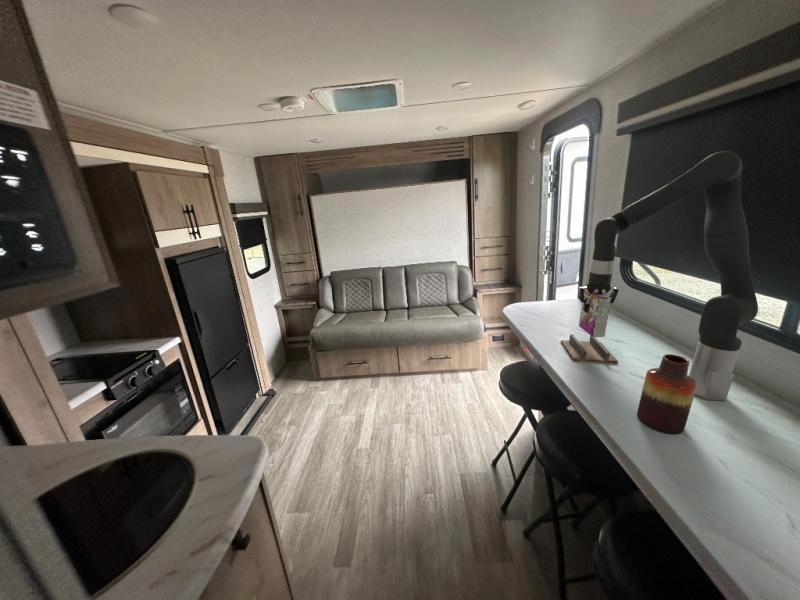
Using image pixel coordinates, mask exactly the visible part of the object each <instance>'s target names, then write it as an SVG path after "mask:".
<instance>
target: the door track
mask: <svg viewBox="0 0 800 600" xmlns="http://www.w3.org/2000/svg"><path fill="white" fill-rule="evenodd" d="M589 335H590V334H589ZM560 343H562V344H561V345H562V346H564V347H563V348H564V349H566V350H565V351H566V353H567V352H568V353H567V354H568V356H569V355H570V356H569V358H570V359H571V360H572V361H573V362H582V361H585V362H586V363H600V364H601V363H603V364H614V365H615V364H618V363H619V360H618V359H617V358H616V357H615V356H614V355H613V354H612V352H610V351H609V349H608V348H607V347H606V346H605V345H604V344H603V343H602V342H601V341H599V340H598V339H597V337H592V336H591V335H590V336H589V341H588V340H587V341H586V340H585V341H584V340H578V339H577V338H576V336H575V334H571V333H570V334H569V340H567V339H561V340H560ZM585 362H584V363H585Z"/></svg>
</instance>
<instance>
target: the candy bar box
mask: <svg viewBox="0 0 800 600" xmlns="http://www.w3.org/2000/svg"><path fill="white" fill-rule="evenodd" d="M587 294H588V291H587V290H586V291H585V292H584V299H585V298H586V295H587ZM606 295H607V294H606ZM606 295H601V294H595V295H593V298H592V300H591V301H590V303H589V309H588V313H585V312H584V310H583V306H584V303H583V302H581V309H580V315H579V316H580V317H579V320H578V321H579V323H578V327H580V328H581V329H582V330H583V331H585V332H586V333H587V334H588V335H591V336H592V337H595V338H604V337H605V335H606V330H607V325H608V323H607V322H608V319H609V313H610V307H611V303H610V302H611V298H610V297H609V296H608V295H607V296H606ZM589 296H590V294H589Z"/></svg>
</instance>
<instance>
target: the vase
mask: <svg viewBox="0 0 800 600" xmlns="http://www.w3.org/2000/svg"><path fill="white" fill-rule="evenodd" d="M689 365H690V361H689V359H687V358H685V357H683V356H681V355H677V354H671V353H670V354H667V353H666V354H664V355H663V356H662V359H661V361H660V364H659V366H658V367H652V368H649V369H648V370H647V371H646V374H645V378H644V382H643V385H642V386H643V387H642V391H641V395H640V400H639V403H638V407H637V412H636V416H637V418H638V420H639V421H640V422H641V423H642V424H643V425H644V426H646V427H647V428H649V429H651V430H653V431H656V432H659V433H663V434H665V435H666V434H667V435H680V434H682V433H683V432H684V431H685V428H686V425H687V422H688V419H689V414H690V412H691V408H692V405H693V401H694V399H695V398H694V397H695V396H696V395H695V391H696V388H697V384H696V382H695V381H694V379H692V378H691V377H689V374H688V371H689V367H690V366H689Z"/></svg>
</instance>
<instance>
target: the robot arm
mask: <svg viewBox="0 0 800 600" xmlns="http://www.w3.org/2000/svg"><path fill="white" fill-rule="evenodd" d="M742 171H743V163H742V160H741V158H740V156H739V155H738V154H737V153H735V152H733V151H729V150H727V151H726V150H722V151H717V152H714V153H713V154H710V155H707V157H705V158H704V159H703V160H701V161H700V162H698V163H697V164H696V165H694V166H693V167H692V168H690V169H689V170H687V171H686V172H685V173H683V174H682V175H680V176H678V177H677V178H675V179H674V180H671V182H669V183H667V184H665V185H664V186H662V187H661V188H659V189H657V190H655V191H653V192H651V193H650V194H648V195H646V196H644V197H642V198H640V199H639V200H636V201H635V202H633V203H631V204H629V205H628V206H626V207H624V208H623V209H622V210H621V211H619V212H617V213H615V214H613V215H611V216H609V217H607V218H603V219H601V220H599V221H598V223H597V224H596V225H595V229H594V238H593V239H594V247H593V248H594V249H593V253H592V260H591V264H590V267H589V273H588V280H587V284H586V286H578V299H579V301H580V302H581V303H582V302H583V303H584V306H583V310H584V312H585V313H588V309H589V303H590V301H591V300H592V298H593V295H595V294H601V295H606V296H608V295H607V294H608V293H609V292H610V293H609V296H608V297H610V298H611V302H610V304H614V303H615V300H616V299H617V296H618V293H619V289H618V288H617V287H611V283H612V278H613V275H614V273H613V272H614V268H615V267H614V265H615V257H616V250H617V247H616V237H617V235H618V234H620V233H622V232H623V231H625V230H627V229H629V228H631V227H632V226H635V225H638V224H640V223H642V222H644V221H647V220H648V219H650V218H652V217H653V216H656V215H658V214H659V213H661V212H663V211H665V209H667V208H669V207H670V206H672V205H673V204H675V203H676V202H678V201H680V200H682V199H683V198H686V197H687V196H689V195H692V194H693V193H695V192H697V191H701V190H703V191H704V196H705V201H706V213H705V218H704V226H703V240H704V250H705V251H704V252H705V255H706V257H707V259H708V261H709V263H710V264H711V266H712V268H713V269H714V270H715V272H716V274H717V275H718V278H719V282H720V295H718V296H714V297H711V298H710V299H708V300H707V301H706V302H705V304H704V305H703V308H702V311H701V316H700V321H699V324H698V334H699V338H698V339H699V340H698V342H697V346H696V349H695V353H694V356H693V360H692V362H691V367H690V370H689V374H688V376H689V377H691V378H692V379H694V381H695V382H696V384H697V388H696V391H695V395H694V396H697V397H700V398H701V399H703V400H707V401H709V400H711V401H721V402H722V401H723V402H724V401H725V402H726V401H727V398H728V396H729V392H730V389H731V386H732V383H733V380H734V377H735V374H734V373H733V370H734V368H735V365H736V361H737V359H738V356H739V352H740V350H741V347H742V343H743V342H742V339H741V338H739V336H737V333H738V329H739V326H740V325H743V324H746V323H750V322H751V321H753V320H754V319H755V318H756V317H757V315H758V313H759V306H758V305H759V303H758V300H757V295H756V291H755V288H754V284H753V279H752V270H751V267H752V266H751V257H750V242H749V230H748V225H747V219H746V216H745V215H746V214H745V211H744V208H743V205H742V199H741V182H742V181H741V180H742ZM586 290H587V291H588V294H587V295H586V298H585V299H584V292H585V291H586ZM589 294H590V296H589Z"/></svg>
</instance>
